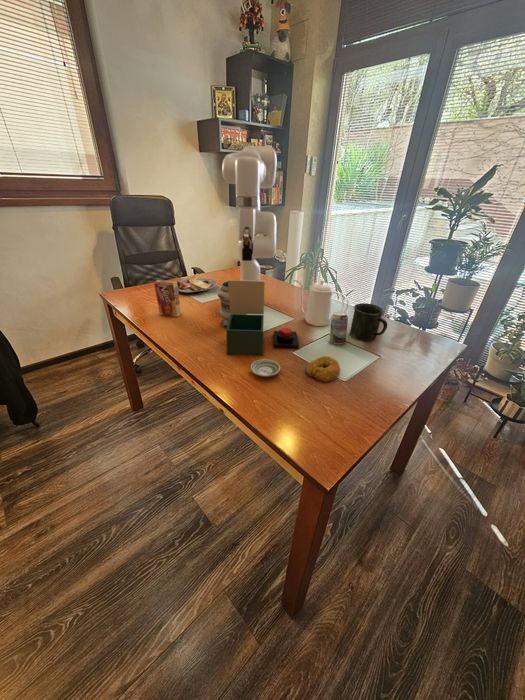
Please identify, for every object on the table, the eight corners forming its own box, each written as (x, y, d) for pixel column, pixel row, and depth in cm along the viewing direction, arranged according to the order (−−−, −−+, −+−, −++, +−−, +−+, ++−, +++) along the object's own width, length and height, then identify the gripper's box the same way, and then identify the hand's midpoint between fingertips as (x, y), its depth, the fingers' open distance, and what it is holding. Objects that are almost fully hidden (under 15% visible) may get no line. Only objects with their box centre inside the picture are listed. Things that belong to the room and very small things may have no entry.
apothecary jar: (213, 326, 123) (210, 285, 113) (228, 316, 132) (226, 277, 123) (238, 332, 118) (237, 290, 109) (251, 321, 128) (252, 281, 118)
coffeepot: (294, 311, 138) (297, 272, 129) (346, 323, 129) (354, 281, 119) (285, 319, 130) (288, 278, 120) (340, 332, 120) (348, 289, 111)
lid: (264, 281, 99) (264, 280, 100) (227, 280, 99) (228, 279, 100) (263, 314, 110) (263, 313, 110) (230, 313, 110) (230, 312, 110)
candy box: (181, 313, 134) (177, 281, 126) (177, 317, 130) (172, 284, 122) (163, 311, 135) (158, 279, 127) (159, 315, 131) (153, 282, 124)
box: (262, 355, 104) (263, 331, 99) (227, 354, 104) (226, 330, 99) (263, 337, 115) (263, 314, 110) (231, 336, 115) (230, 314, 110)
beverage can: (336, 348, 109) (341, 319, 103) (324, 339, 115) (328, 311, 109) (349, 344, 112) (354, 315, 106) (336, 336, 118) (341, 308, 111)
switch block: (298, 348, 108) (299, 340, 106) (274, 348, 108) (274, 340, 106) (295, 335, 118) (296, 327, 116) (273, 334, 118) (274, 326, 116)
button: (291, 337, 110) (291, 332, 109) (281, 336, 110) (281, 332, 109) (290, 332, 113) (291, 328, 112) (280, 331, 113) (280, 327, 112)
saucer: (282, 366, 98) (282, 360, 96) (277, 384, 90) (277, 377, 88) (254, 362, 99) (254, 356, 98) (247, 379, 91) (247, 372, 90)
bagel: (304, 364, 100) (306, 352, 97) (337, 366, 99) (339, 354, 96) (305, 381, 91) (307, 368, 89) (341, 384, 90) (343, 371, 88)
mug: (360, 327, 125) (365, 301, 119) (389, 341, 115) (397, 313, 109) (343, 333, 120) (348, 306, 113) (372, 348, 109) (380, 320, 103)
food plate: (164, 286, 165) (163, 280, 163) (200, 278, 179) (199, 273, 177) (187, 298, 150) (186, 292, 148) (224, 289, 163) (223, 283, 162)
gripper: (238, 200, 101) (239, 251, 110) (233, 204, 86) (234, 263, 95) (259, 201, 101) (259, 252, 110) (258, 205, 86) (257, 263, 95)
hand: (247, 257), depth 102 cm, fingers open, 9 cm apart
